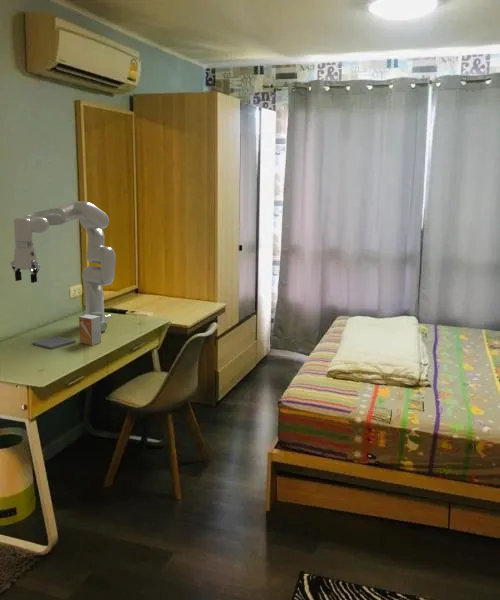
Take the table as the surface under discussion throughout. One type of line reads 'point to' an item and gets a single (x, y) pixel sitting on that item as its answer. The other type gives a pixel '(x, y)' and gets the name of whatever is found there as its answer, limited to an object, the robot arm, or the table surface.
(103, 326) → the air freshener
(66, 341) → the rest mat
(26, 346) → the table surface
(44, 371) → the table surface
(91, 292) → the robot arm
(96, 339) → the small box
